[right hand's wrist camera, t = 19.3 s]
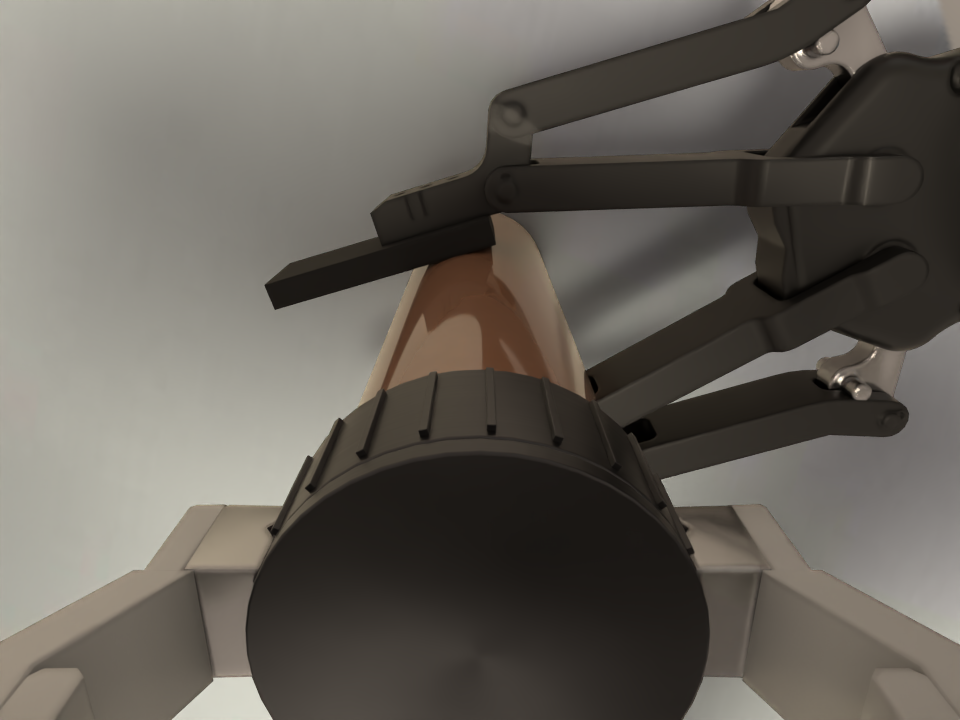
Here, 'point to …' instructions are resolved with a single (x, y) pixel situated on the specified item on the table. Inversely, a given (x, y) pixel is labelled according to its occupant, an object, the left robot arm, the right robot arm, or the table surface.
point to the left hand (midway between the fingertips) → (319, 370)
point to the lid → (477, 566)
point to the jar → (482, 319)
